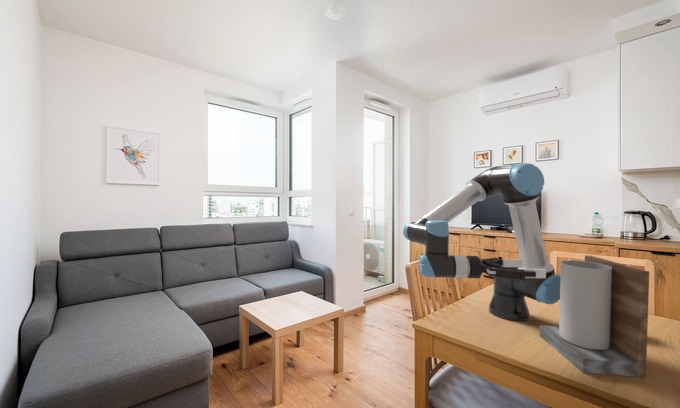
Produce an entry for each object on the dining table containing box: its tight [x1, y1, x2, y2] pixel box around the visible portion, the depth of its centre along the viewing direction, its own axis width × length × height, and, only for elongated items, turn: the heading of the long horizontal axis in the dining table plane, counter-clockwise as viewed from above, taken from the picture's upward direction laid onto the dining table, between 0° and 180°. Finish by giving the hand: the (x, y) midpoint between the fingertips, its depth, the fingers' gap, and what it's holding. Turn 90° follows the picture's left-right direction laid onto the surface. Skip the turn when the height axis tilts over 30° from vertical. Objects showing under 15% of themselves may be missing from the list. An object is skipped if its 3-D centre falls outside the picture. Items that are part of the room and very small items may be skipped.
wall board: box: [539, 254, 650, 378], centre depth 93 cm, size 16×22×30 cm
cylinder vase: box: [558, 259, 612, 350], centre depth 93 cm, size 12×12×25 cm
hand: (533, 268), depth 96 cm, fingers open, 13 cm apart
